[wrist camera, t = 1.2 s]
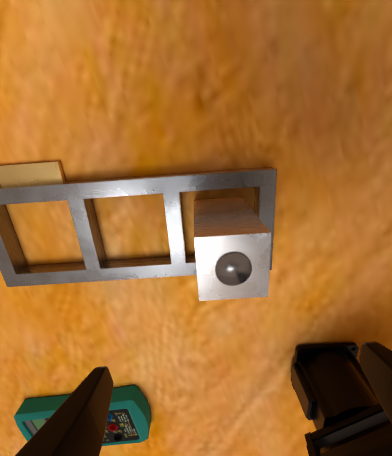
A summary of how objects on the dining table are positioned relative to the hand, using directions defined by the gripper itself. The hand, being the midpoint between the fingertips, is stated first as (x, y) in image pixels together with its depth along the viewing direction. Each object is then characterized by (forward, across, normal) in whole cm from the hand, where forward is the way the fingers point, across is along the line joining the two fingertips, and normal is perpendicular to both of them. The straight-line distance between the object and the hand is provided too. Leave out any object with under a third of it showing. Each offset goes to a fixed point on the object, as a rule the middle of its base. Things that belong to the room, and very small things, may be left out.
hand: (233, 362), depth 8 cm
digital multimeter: (+14, +17, +22) cm, 31 cm away
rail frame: (+13, +6, -1) cm, 15 cm away
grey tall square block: (+13, -1, -1) cm, 13 cm away
